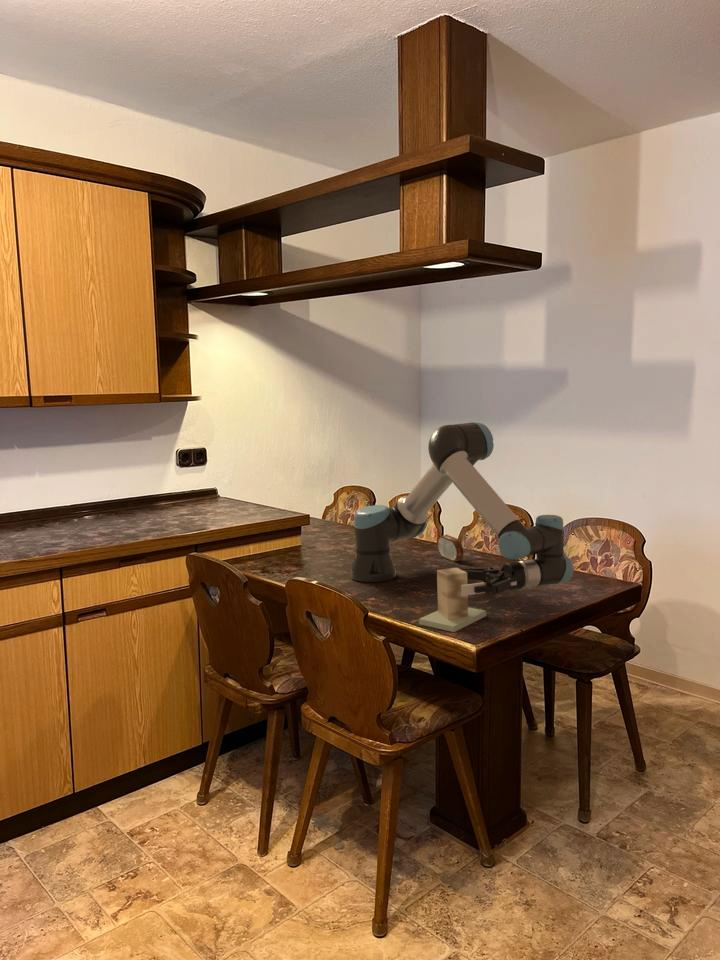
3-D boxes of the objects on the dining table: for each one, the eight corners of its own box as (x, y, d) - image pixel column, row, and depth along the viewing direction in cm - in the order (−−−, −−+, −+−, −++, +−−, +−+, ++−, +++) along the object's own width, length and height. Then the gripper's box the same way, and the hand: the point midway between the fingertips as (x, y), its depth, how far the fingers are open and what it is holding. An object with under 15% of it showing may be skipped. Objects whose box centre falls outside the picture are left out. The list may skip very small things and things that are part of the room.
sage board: (452, 609, 207) (452, 604, 207) (486, 616, 200) (486, 610, 200) (419, 624, 195) (418, 618, 195) (453, 632, 188) (453, 626, 188)
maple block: (457, 610, 201) (456, 567, 200) (468, 616, 196) (467, 572, 194) (437, 613, 199) (436, 570, 198) (447, 619, 194) (446, 575, 192)
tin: (464, 563, 259) (463, 540, 258) (456, 564, 258) (456, 541, 257) (444, 554, 273) (443, 532, 272) (436, 555, 272) (436, 533, 271)
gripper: (545, 599, 191) (472, 610, 184) (497, 577, 215) (431, 586, 208) (545, 571, 190) (471, 581, 183) (497, 552, 214) (430, 560, 207)
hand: (450, 584), depth 196 cm, fingers open, 13 cm apart
